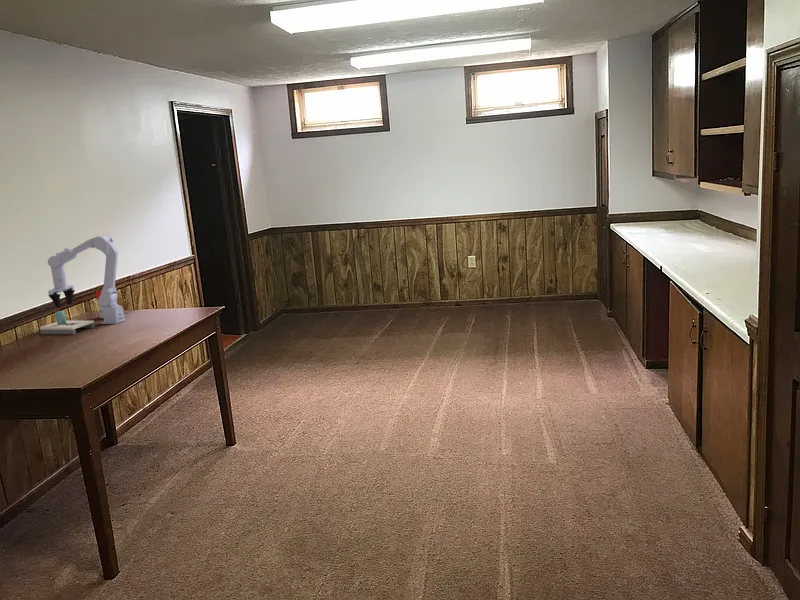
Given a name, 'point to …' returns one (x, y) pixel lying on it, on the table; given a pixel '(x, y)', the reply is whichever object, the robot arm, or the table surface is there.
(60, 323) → the peg
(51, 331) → the board
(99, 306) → the ink box
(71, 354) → the table surface
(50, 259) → the robot arm
